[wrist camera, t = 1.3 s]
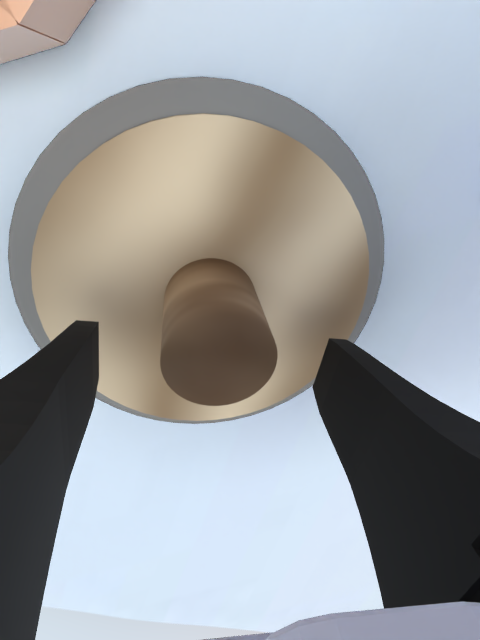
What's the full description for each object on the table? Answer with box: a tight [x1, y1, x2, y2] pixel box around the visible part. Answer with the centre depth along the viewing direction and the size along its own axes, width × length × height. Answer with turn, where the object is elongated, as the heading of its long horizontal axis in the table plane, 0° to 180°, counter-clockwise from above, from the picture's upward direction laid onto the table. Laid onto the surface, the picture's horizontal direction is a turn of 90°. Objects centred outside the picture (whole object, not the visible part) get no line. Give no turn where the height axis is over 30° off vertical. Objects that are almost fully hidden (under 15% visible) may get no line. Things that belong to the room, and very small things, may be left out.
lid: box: [31, 113, 369, 421], centre depth 14 cm, size 13×13×5 cm
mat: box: [8, 77, 384, 424], centre depth 16 cm, size 15×15×1 cm
